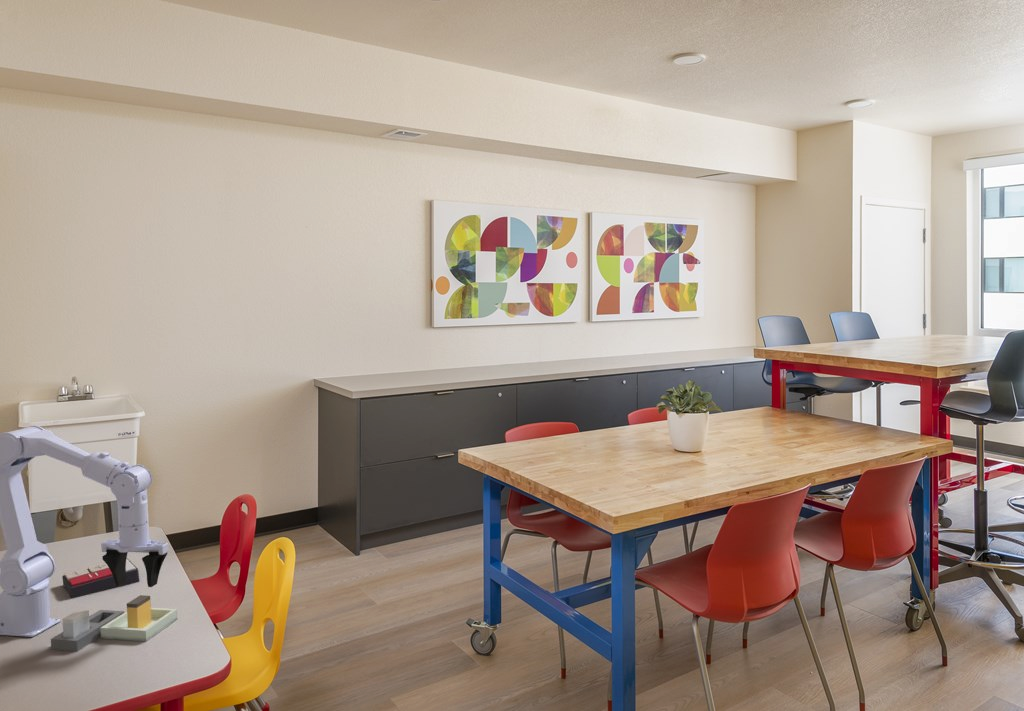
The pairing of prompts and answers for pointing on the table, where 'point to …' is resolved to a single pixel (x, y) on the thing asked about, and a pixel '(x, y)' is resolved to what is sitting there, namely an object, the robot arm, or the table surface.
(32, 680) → the table surface
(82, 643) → the block
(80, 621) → the block
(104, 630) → the parts tray
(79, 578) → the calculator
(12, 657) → the table surface
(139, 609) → the yellow rectangular block
